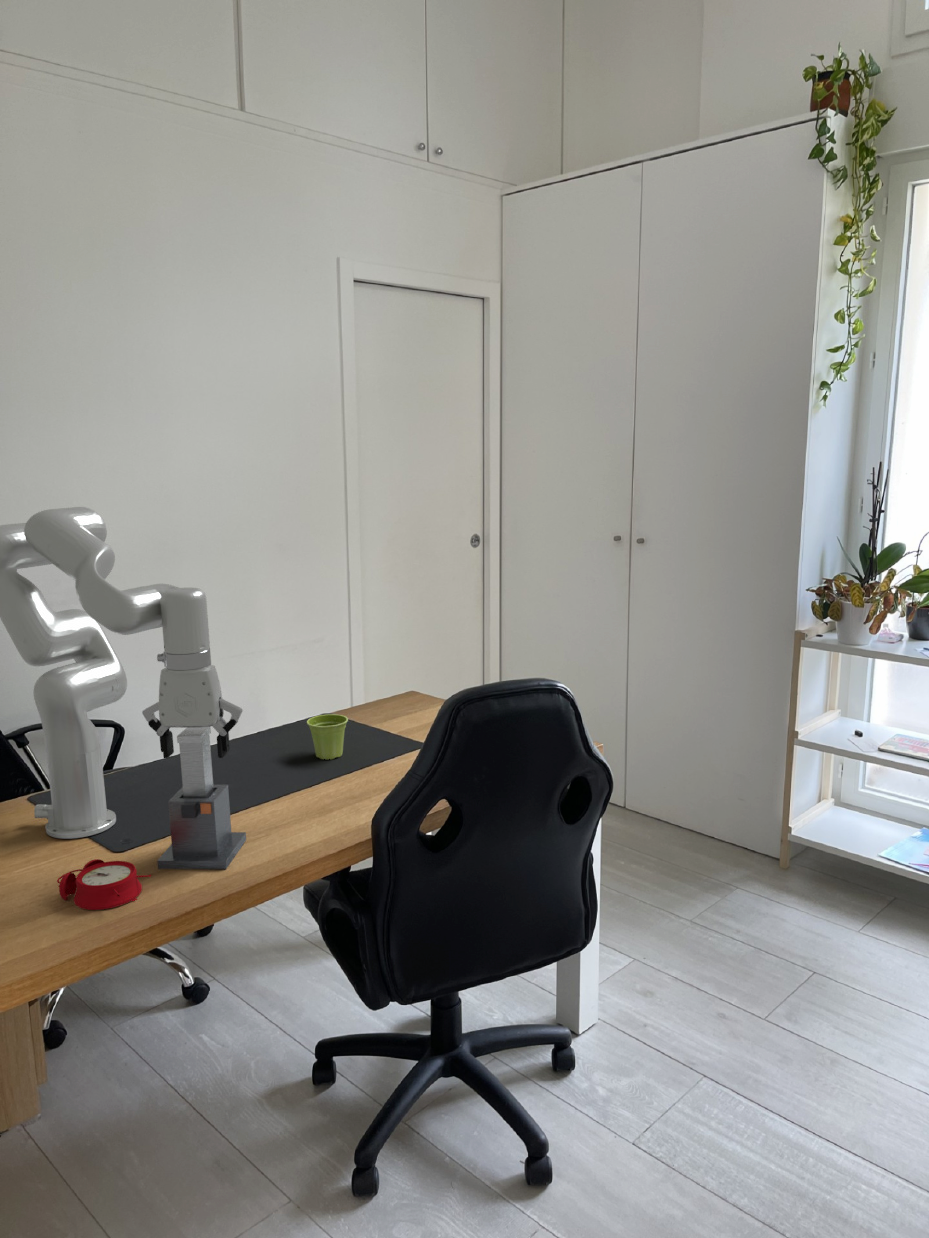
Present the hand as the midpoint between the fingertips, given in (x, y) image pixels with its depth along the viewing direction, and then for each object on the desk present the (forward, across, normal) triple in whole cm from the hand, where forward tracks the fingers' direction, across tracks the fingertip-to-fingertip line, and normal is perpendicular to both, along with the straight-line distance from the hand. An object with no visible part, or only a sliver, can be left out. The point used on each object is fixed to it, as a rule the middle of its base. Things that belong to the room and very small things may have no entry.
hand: (195, 755), depth 163 cm
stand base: (+18, 0, 0) cm, 18 cm away
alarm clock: (+19, -12, -15) cm, 27 cm away
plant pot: (+19, +12, +53) cm, 57 cm away
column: (+17, 0, 0) cm, 17 cm away
